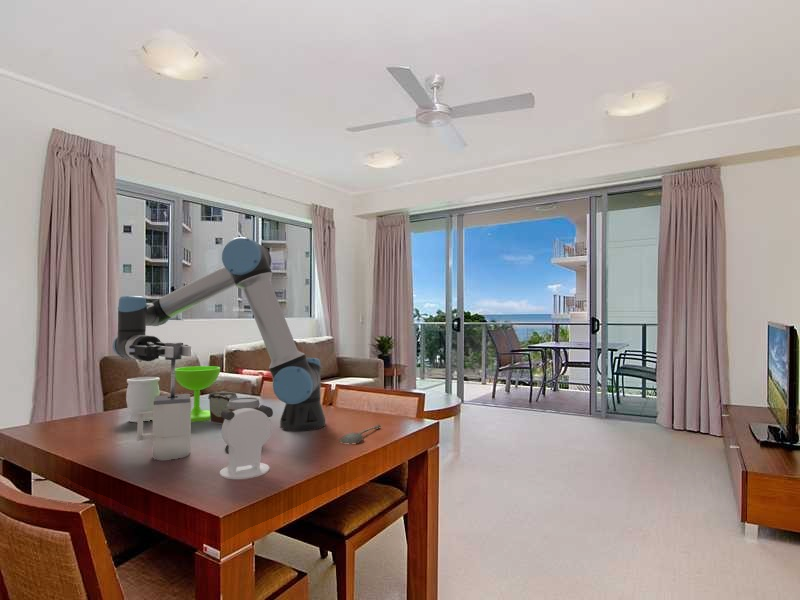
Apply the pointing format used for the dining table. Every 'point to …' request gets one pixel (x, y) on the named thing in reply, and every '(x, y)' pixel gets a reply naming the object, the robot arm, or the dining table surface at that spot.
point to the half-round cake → (219, 405)
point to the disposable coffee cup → (243, 403)
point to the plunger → (176, 355)
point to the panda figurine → (245, 441)
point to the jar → (141, 396)
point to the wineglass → (197, 385)
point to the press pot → (168, 426)
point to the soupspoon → (355, 436)
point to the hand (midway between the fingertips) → (180, 351)
